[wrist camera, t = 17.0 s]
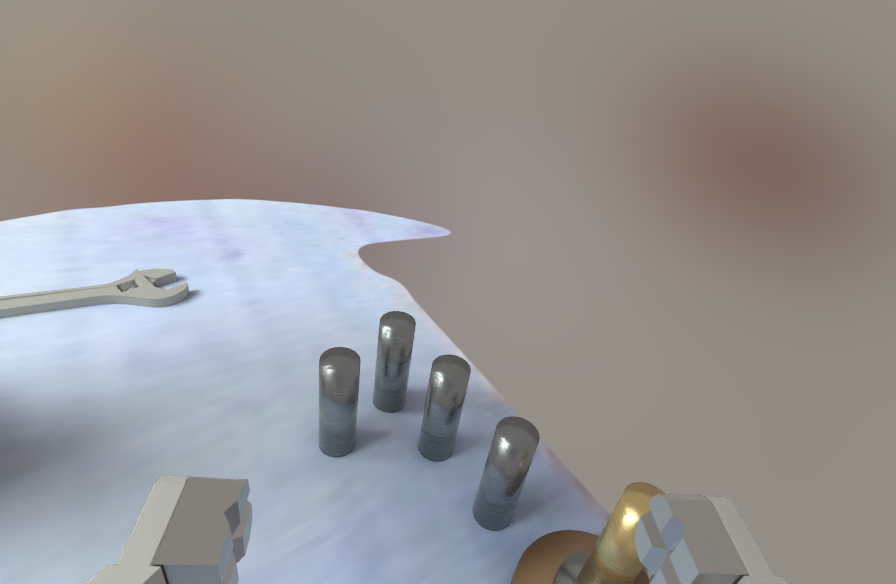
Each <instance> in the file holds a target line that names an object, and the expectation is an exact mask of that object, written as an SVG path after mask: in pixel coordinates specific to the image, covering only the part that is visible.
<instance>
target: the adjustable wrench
mask: <svg viewBox="0 0 896 584" xmlns="http://www.w3.org/2000/svg"><path fill="white" fill-rule="evenodd" d="M174 281H177V278H176V272H175V271H174V270H168V269H151V270H143V271H138V270H135V271H134V272H133V273H132V274H130V275H129V276H127V277H125V278H122V279H120V280H118V281H115V282H112V283H108V284H103V285H97V286H89V287H80V288H71V289H62V290H54V291H45V292H36V293H28V294H19V295H10V296H1V297H0V318H4V317H11V316H18V315H26V314H33V313H40V312H48V311H55V310H62V309H70V308H77V307H84V306H92V305H99V304H128V305H138V306H145V307H166V306H170V305H173V304H176V303H178V302H180V301H182V300H183V299H185V298H186V297H187V296H188V295H189V289H188V284H187V283H185V284H182V285H179V286H176V287H173V288H170V289H167V290H166V289H162V288H158V287H159V286H162V285H165V284H168V283H171V282H174ZM154 286H157V287H154Z"/></svg>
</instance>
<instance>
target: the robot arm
mask: <svg viewBox="0 0 896 584" xmlns="http://www.w3.org/2000/svg"><path fill="white" fill-rule="evenodd" d="M249 490H250V489H249V483H248V479H228V478H206V477H192V476H164V475H161V477H160V478H159V479H158V480H157V482H156V483H155V484H154V486H153V488H152V490H151V492H150V494H149V496H148V499H147V501H146V503H145V505H144V507H143V509H142V512H141V514H140V516H139V518H138V520H137V522H136V525H135V527H134V529H133V531H132V533H131V535H130V538H129V540H128V542H127V544H126V546H125V548H124V551H123V553H122V555H121V557H120V559H119V561H118V564H117V565H107V566H106V567H105V568H104V569H103V570H101V571H100V572H99V573H98V574H97V575H96V576H94V577H93V578H92V579H91V580H90V581H89V582H87V583H86V584H237V583H238V580H239V579H238V572H237V565H236V563H237V562H238V561H239V560H240V559H241V558H242V557H243V556H244V555H245V553H246V549H247V545H248V541H249V536H250V530H251V524H252V506H251V503H249V502H248V501H247V498H248V494H249ZM649 507H650V509H651V511H649V512H647V513H646V514H644V515H642V516H641V517H640V519H639V520H638V522H637V524H636V527H635V544H636V550H637V553H638V556H639V559H640V562H641V563H642V564H643V565H644V566H645V567H646V568H647V569H648V570H649V571H650V572H651V573H652V576H651V579H650V583H649V584H790V583H789V582H788V581H787V580H785V579H784V578H783V577H781V576H775V575H774V573H773V571H772V569H771V568H770V566H769V564H768V562H767V561H766V559H765V557H764V556H763V553H762V552H761V550H760V548H759V546H758V544H757V543H756V541H755V539H754V537H753V536H752V534H751V532H750V530H749V528H748V527H747V525H746V523H745V521H744V520H743V518H742V516H741V514H740V513H739V511H738V509H737V507H736V505H735V504H734V502H732V501H731V500H730V499H729V498H728V497H723V496H701V495H670V494H658V495H656V496H653V497H652V499H651V501H650V502H649Z"/></svg>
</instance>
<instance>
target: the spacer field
mask: <svg viewBox="0 0 896 584" xmlns="http://www.w3.org/2000/svg"><path fill="white" fill-rule="evenodd" d="M415 325H416V322H415V319H414V318H413V317H412V316H411V315H409V314H407V313H404V312H400V311H392V312H388V313H386V314H384V315H383V316H382V317H381V319H380V326H379V337H378V349H377V360H376V371H375V383H374V394H373V403H374V405H375V406H376V407H377V408H378V409H379V410H381V411H384V412H396V411H398V410H400V409H401V408H402V407H403V406H404V404H405V398H406V391H407V383H408V376H409V369H410V362H411V354H412V347H413V340H414V333H415ZM470 372H471V369H470V366H469V364H468V363H467V362H466V361H465V360H464V359H462V358H460V357H458V356H455V355H442V356H439V357H437V358H436V359H435V360H434V361H433V363H432V368H431V374H430V380H429V386H428V392H427V398H426V404H425V410H424V415H423V421H422V427H421V433H420V439H419V451H420V453H421V454H422V455H423V456H424V457H425V458H427V459H428V460H431V461H443V460H446V459H447V458H449V457H450V455H451V454H452V451H453V446H454V442H455V438H456V433H457V429H458V424H459V420H460V416H461V411H462V407H463V403H464V398H465V394H466V389H467V385H468V381H469V376H470ZM359 374H360V357H359V355H358V354H357V353H356V352H355V351H353V350H351V349H349V348H345V347H336V348H331V349H329V350H327V351H325V352H324V353H323V354H322V355H321V357H320V361H319V447H320V449H321V451H322V452H323V453H324V454H326V455H328V456H331V457H341V456H344V455H346V454H348V453H349V452H351V451H352V449H353V448H354V445H355V436H356V420H357V405H358V390H359ZM538 443H539V433H538V431H537V430H536V428H535V426H534V425H533V424H531V423H530V422H529V421H527V420H525V419H523V418H520V417H506V418H504V419H502V420H501V421H500V422H499V423H498V425H497V427H496V431H495V434H494V438H493V441H492V445H491V448H490V451H489V455H488V458H487V462H486V465H485V469H484V472H483V476H482V479H481V482H480V486H479V489H478V493H477V496H476V500H475V503H474V507H473V514H474V517H475V519H476V521H477V522H478V523H479V524H480V525H481V526H482V527H484V528H485V529H488V530H491V531H498V530H502V529H504V528H505V527H506V526H507V525H508V524H509V522H510V519H511V516H512V514H513V511H514V508H515V506H516V503H517V500H518V497H519V495H520V492H521V489H522V486H523V484H524V481H525V478H526V475H527V473H528V470H529V467H530V465H531V462H532V459H533V456H534V454H535V451H536V448H537V445H538Z"/></svg>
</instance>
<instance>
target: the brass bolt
mask: <svg viewBox="0 0 896 584" xmlns="http://www.w3.org/2000/svg"><path fill="white" fill-rule="evenodd" d="M658 494H665V493H663V492H662V491H661V490H660V489H658V488H656V487H655V486H653V485H650V484H648V483H643V482H636V483H632V484H630V485H628V486H627V487H626V489H625V491H624V492H623V495H622V496H621V498H620V500H619V502H618V503H617V505H616V507H615V509H614V511H613V513H612V514H611V516H610V518H609V520H608V521H607V523H606V525H605V527H604V529H603V531H602V532H601V534H600V536H599V538H598V540H597V541H596V543H595V545H594V547H593V549H592V550H580V551H576V552H573V553H571V554H570V555H568V556H567V557H566V558H565V559H564V560H563V562H562V563H561V565H560V567H559V569H558V571H557V573H556V575H555V577H554V579H553V581H552V584H633V581H634V580H635V578H636V577H637V575H638V574H639V572H640V571H641V569H642V568H643V566H644V565H643V564H642V563H641V562H640V559H639V556H638V553H637V550H636V544H635V527H636V524H637V522H638V520H639V519H640V517H641V516H642V515H644V514H646V513H647V512H649V511H651V509H650V507H649V502H650V501H651V499H652V497H653V496H656V495H658Z"/></svg>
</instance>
